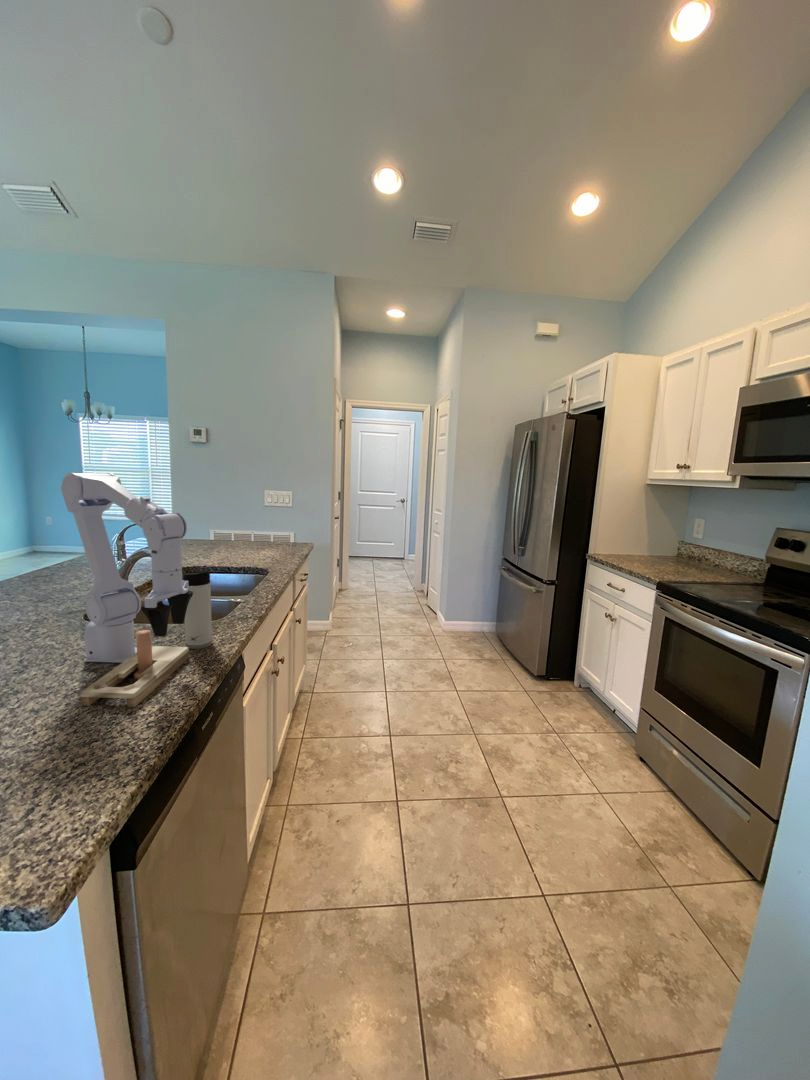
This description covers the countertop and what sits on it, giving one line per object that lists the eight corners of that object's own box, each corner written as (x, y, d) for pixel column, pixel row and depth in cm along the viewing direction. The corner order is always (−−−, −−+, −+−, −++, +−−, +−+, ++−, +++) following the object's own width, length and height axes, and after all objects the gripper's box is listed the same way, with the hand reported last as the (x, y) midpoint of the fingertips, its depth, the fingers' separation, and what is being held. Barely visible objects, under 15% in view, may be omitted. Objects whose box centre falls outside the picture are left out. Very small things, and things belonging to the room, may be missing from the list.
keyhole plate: (81, 705, 83) (80, 692, 82) (147, 656, 105) (146, 645, 104) (134, 707, 83) (133, 693, 83) (188, 658, 105) (188, 647, 104)
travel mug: (195, 651, 108) (192, 574, 105) (180, 645, 112) (177, 570, 109) (218, 644, 114) (216, 570, 110) (202, 638, 117) (200, 566, 114)
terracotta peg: (129, 679, 93) (126, 635, 92) (141, 670, 98) (139, 628, 96) (150, 680, 93) (148, 636, 92) (161, 670, 98) (159, 628, 96)
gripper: (168, 578, 86) (171, 642, 88) (200, 562, 100) (202, 618, 103) (132, 576, 86) (136, 641, 88) (170, 561, 100) (172, 617, 102)
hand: (169, 629), depth 95 cm, fingers open, 7 cm apart
